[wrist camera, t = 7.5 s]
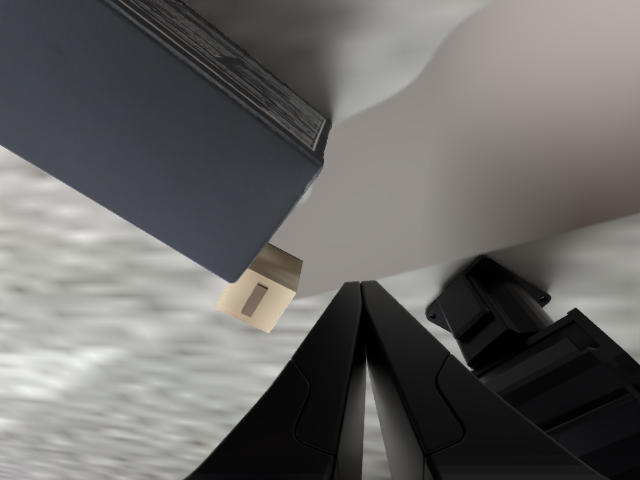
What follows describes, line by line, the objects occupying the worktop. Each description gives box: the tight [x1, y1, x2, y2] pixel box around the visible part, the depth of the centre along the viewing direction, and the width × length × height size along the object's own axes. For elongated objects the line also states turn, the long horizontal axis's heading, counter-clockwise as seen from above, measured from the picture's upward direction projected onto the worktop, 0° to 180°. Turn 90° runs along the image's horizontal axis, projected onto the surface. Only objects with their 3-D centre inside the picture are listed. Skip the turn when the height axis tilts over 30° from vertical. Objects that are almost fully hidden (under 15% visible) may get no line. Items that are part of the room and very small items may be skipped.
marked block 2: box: [215, 243, 303, 333], centre depth 22 cm, size 4×4×4 cm
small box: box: [0, 0, 332, 284], centre depth 14 cm, size 11×6×10 cm, turn 53°
